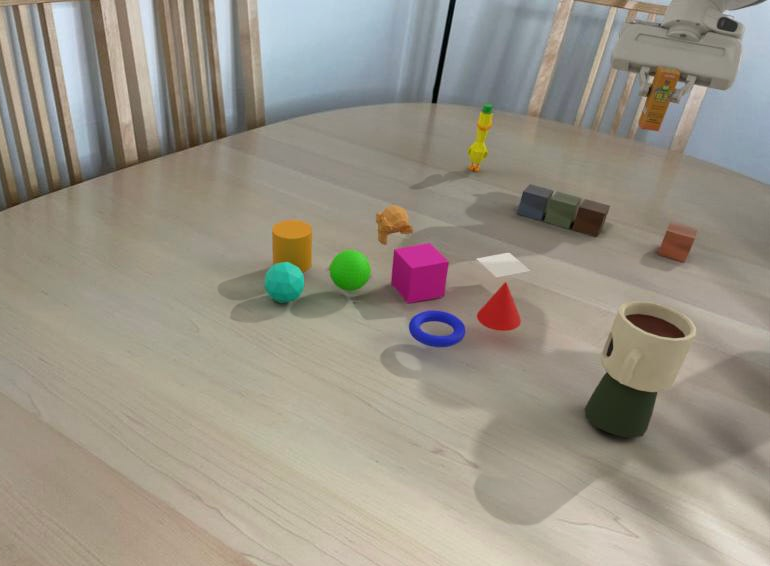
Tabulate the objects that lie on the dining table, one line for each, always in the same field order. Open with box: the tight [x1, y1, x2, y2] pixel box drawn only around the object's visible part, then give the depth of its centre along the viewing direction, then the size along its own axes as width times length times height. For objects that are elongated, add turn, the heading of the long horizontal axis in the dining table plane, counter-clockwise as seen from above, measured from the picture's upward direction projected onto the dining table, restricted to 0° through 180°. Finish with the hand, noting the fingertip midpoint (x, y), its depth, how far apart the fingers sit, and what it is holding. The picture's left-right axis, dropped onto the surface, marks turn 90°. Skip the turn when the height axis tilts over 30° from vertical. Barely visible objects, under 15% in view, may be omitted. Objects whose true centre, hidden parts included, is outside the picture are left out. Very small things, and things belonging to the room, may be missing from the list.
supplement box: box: [637, 66, 680, 132], centre depth 128 cm, size 3×3×10 cm
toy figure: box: [467, 103, 494, 172], centre depth 134 cm, size 7×4×12 cm, turn 161°
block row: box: [516, 183, 698, 263], centre depth 117 cm, size 4×26×4 cm, turn 59°
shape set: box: [263, 205, 531, 348], centre depth 94 cm, size 29×35×7 cm
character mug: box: [584, 300, 697, 439], centre depth 74 cm, size 11×7×13 cm, turn 140°
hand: (658, 97), depth 127 cm, fingers closed on supplement box, 4 cm apart
